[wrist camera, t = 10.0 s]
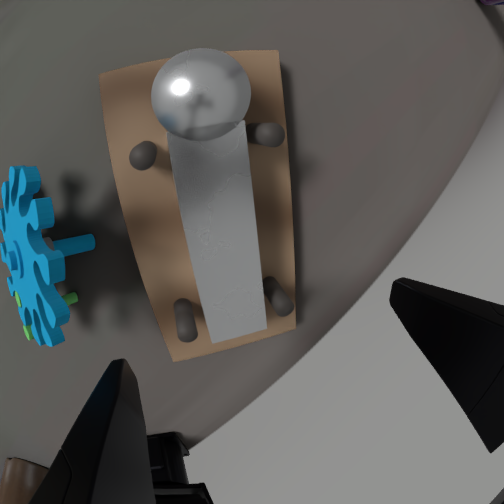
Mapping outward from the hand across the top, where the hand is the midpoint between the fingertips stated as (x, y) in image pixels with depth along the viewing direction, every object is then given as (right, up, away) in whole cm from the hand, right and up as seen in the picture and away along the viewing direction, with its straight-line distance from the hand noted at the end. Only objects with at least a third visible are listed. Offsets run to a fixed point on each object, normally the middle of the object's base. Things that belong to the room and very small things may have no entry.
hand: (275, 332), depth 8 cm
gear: (-14, +3, +7) cm, 16 cm away
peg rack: (-3, +5, +10) cm, 11 cm away
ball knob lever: (-3, +5, +8) cm, 10 cm away
